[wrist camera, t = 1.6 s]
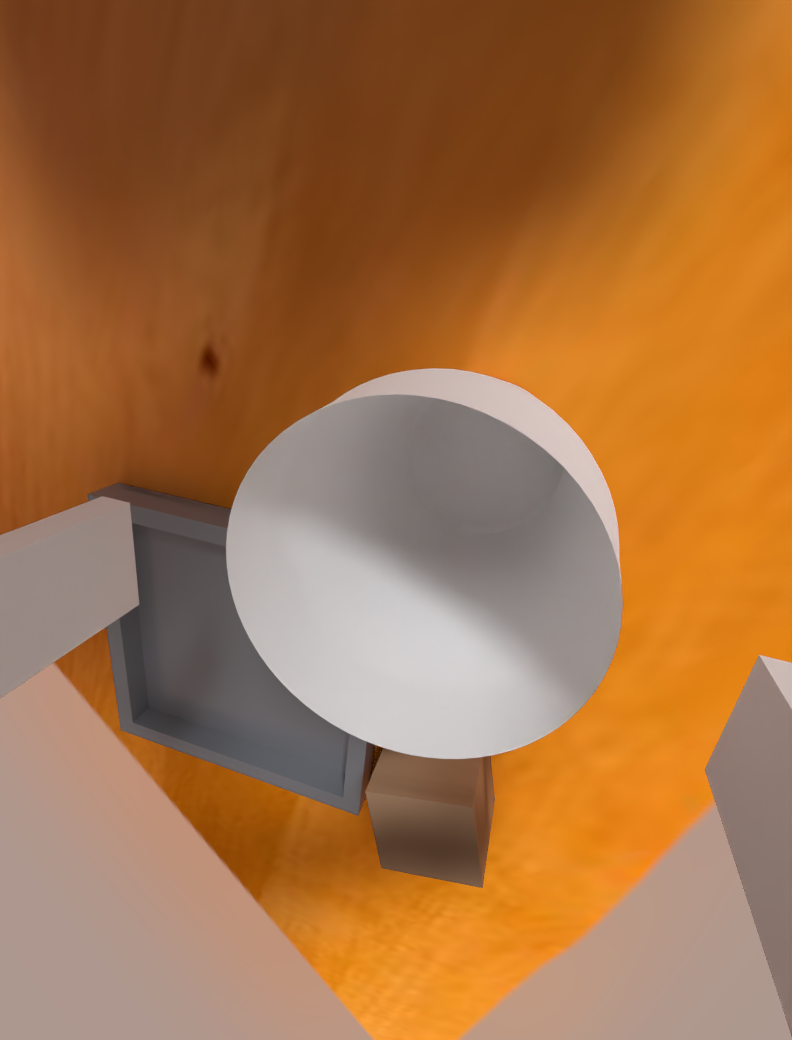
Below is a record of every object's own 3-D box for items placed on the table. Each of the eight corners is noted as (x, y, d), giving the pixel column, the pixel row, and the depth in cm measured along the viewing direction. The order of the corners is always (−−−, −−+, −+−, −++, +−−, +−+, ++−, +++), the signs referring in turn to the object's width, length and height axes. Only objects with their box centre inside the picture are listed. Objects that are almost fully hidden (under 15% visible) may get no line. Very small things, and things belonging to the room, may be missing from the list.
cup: (428, 578, 25) (325, 782, 14) (346, 400, 23) (152, 479, 12) (626, 521, 21) (693, 738, 10) (550, 304, 19) (534, 292, 8)
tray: (117, 482, 28) (87, 494, 26) (399, 548, 24) (387, 567, 23) (143, 708, 34) (121, 729, 33) (370, 786, 31) (358, 815, 29)
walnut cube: (396, 716, 28) (365, 791, 24) (487, 725, 27) (472, 807, 22) (408, 785, 30) (381, 868, 26) (495, 798, 28) (482, 887, 24)
